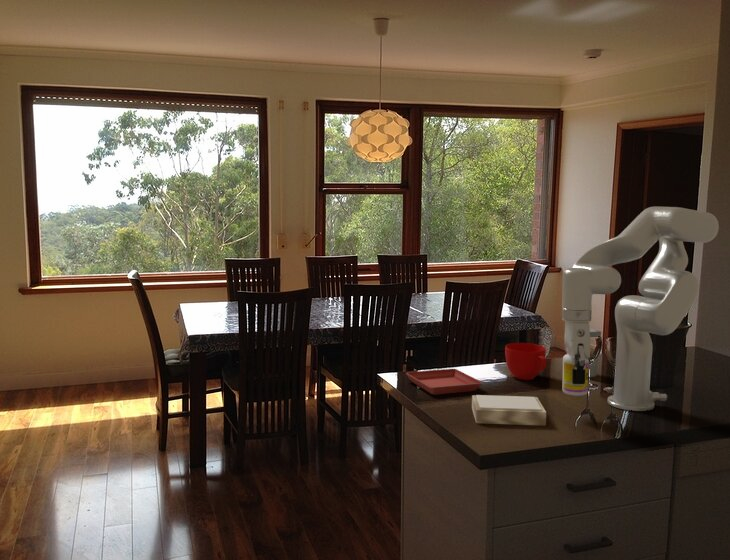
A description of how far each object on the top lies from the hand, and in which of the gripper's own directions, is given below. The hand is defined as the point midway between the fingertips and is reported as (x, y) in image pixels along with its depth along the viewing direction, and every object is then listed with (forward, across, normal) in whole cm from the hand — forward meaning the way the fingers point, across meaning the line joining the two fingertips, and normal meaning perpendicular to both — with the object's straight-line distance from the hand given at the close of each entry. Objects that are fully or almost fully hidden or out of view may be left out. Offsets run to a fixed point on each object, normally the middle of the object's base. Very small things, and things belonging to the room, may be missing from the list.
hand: (575, 379), depth 185 cm
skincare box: (+12, +44, -13) cm, 48 cm away
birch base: (+10, -2, +18) cm, 21 cm away
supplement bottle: (+4, 0, 0) cm, 4 cm away
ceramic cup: (+11, +37, +6) cm, 39 cm away
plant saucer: (+10, +25, +34) cm, 44 cm away
